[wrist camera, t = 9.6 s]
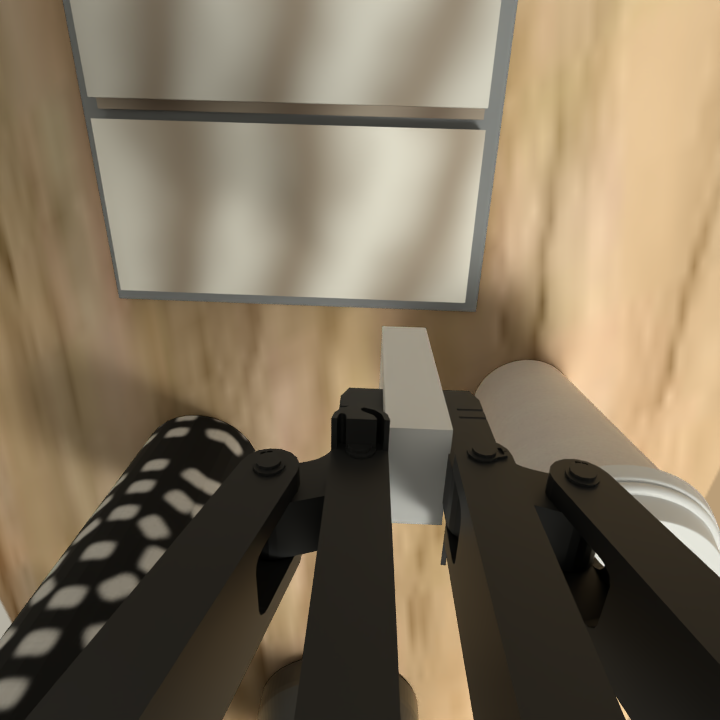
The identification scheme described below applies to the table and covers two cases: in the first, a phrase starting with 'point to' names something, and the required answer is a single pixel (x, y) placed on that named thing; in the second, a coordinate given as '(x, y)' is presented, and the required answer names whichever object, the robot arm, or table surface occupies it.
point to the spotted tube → (114, 553)
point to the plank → (291, 208)
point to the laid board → (290, 56)
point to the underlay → (489, 124)
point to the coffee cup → (589, 447)
